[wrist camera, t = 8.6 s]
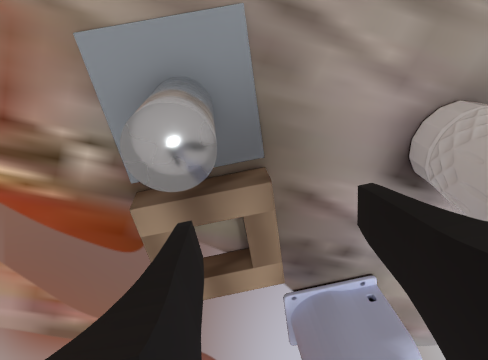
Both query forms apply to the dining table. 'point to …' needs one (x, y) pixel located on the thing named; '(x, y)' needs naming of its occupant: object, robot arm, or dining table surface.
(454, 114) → the white cup
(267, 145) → the dining table surface
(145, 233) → the socket block
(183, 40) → the slate mat
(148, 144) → the steel peg
